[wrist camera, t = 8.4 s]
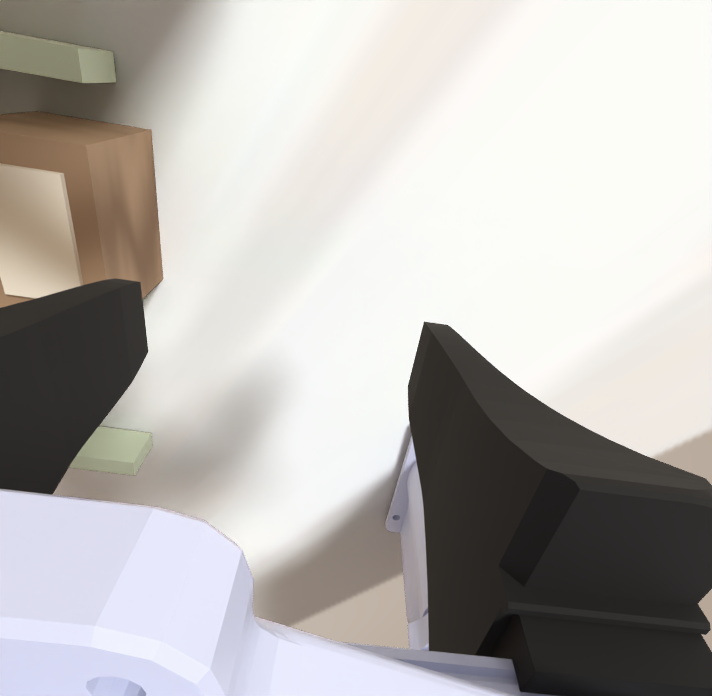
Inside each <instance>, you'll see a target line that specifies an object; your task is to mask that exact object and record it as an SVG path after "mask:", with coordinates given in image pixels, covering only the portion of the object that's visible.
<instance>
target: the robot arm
mask: <svg viewBox="0 0 712 696" xmlns="http://www.w3.org/2000/svg"><path fill="white" fill-rule="evenodd" d="M147 353H148V346H147V337H146V327H145V318H144V309H143V300H142V291H141V282H138V281H131V280H123V279H116V278H115V279H107V280H102V281H98V282H93V283H89V284H86V285H82V286H78V287H75V288H71V289H68V290H64V291H61V292H57V293H54V294H50V295H47V296H43V297H40V298H36V299H32V300H29V301H25V302H21V303H17V304H13V305H9V306H5V307H1V308H0V696H712V652H711V650H710V648H709V647H708V646H707V644H706V642H705V640H704V639H703V637H702V635H701V634H705V635H706V634H707V633H708V632H709V631H710V623H709V621H708V620H707V618H706V616H705V615H704V613H703V612H702V610H701V609H700V607H699V605H698V603H699V601H700V600H701V599H702V598H703V597H704V596H705V595H706V594H707V593H708V592H709V591H710V590H711V589H712V485H711V484H710V483H709V482H708V481H707V480H706V479H705V478H703V477H700V476H697V475H695V474H692V473H689V472H687V471H684V470H681V469H679V468H676V467H673V466H671V465H668V464H666V463H663V462H660V461H658V460H655V459H652V458H650V457H647V456H645V455H642V454H640V453H638V452H635V451H633V450H631V449H629V448H626V447H624V446H622V445H620V444H618V443H615V442H613V441H611V440H609V439H607V438H605V437H603V436H601V435H599V434H597V433H595V432H592V431H591V430H589V429H587V428H585V427H583V426H581V425H579V424H578V423H576V422H574V421H572V420H570V419H568V418H567V417H565V416H563V415H561V414H560V413H558V412H556V411H555V410H553V409H551V408H550V407H548V406H547V405H545V404H544V403H542V402H541V401H539V400H538V399H536V398H535V397H533V396H532V395H530V394H529V393H527V392H526V391H524V390H523V389H522V388H520V387H519V386H518V385H516V384H515V383H514V382H513V381H511V380H510V379H509V378H507V377H506V376H505V375H504V374H502V373H501V372H500V371H499V370H498V369H496V368H495V367H494V366H493V365H492V364H491V363H489V362H488V361H487V360H486V359H485V358H484V357H483V356H482V355H481V354H479V353H478V352H477V351H476V350H475V349H474V348H473V347H472V346H471V345H470V344H469V343H468V342H467V341H465V340H464V339H463V338H462V337H461V336H460V335H459V334H458V333H457V332H456V331H455V330H453V329H452V328H451V327H449V326H448V325H443V324H436V323H429V322H424V325H423V329H422V333H421V337H420V340H419V344H418V348H417V352H416V356H415V360H414V364H413V368H412V372H411V376H410V380H409V384H408V407H409V421H410V427H411V433H412V435H411V438H410V442H409V445H408V449H407V452H406V455H405V459H404V462H403V465H402V469H401V472H400V475H399V479H398V482H397V485H396V489H395V492H394V495H393V499H392V502H391V505H390V509H389V512H388V515H387V519H386V522H385V524H386V529H387V530H388V531H390V532H396V533H400V535H401V549H402V562H403V576H404V588H405V602H406V615H407V620H408V625H407V626H408V639H409V649H405V648H395V647H385V646H376V645H366V644H356V643H345V642H338V641H334V640H331V639H328V638H324V637H321V636H318V635H315V634H312V633H308V632H305V631H302V630H298V629H295V628H292V627H289V626H285V625H282V624H279V623H275V622H272V621H269V620H266V619H262V618H259V617H256V616H254V614H253V609H252V606H253V585H254V579H253V576H252V574H251V571H250V569H249V566H248V564H247V561H246V558H245V556H244V553H243V551H242V549H241V548H240V547H239V546H238V545H237V544H236V543H235V542H233V541H232V540H231V539H229V538H228V537H227V536H225V535H224V534H223V533H221V532H220V531H219V530H217V529H216V528H215V527H213V526H212V525H210V524H209V523H208V522H206V521H205V520H203V519H199V518H196V517H192V516H189V515H185V514H182V513H178V512H175V511H171V510H168V509H164V508H161V507H155V506H147V505H138V504H129V503H120V502H112V501H103V500H94V499H86V498H77V497H68V496H59V495H52V494H53V493H54V491H55V489H56V488H57V486H58V484H59V483H60V481H61V479H62V478H63V476H64V474H65V473H66V471H67V469H68V468H69V466H70V464H71V463H72V461H73V460H74V458H75V457H76V455H77V454H78V453H79V451H80V450H81V448H82V447H83V446H84V444H85V443H86V442H87V440H88V439H89V438H90V437H91V435H92V434H93V433H94V431H95V430H96V429H97V428H98V426H99V425H100V424H101V422H102V421H103V420H104V418H105V417H106V416H107V415H108V413H109V412H110V411H111V409H112V408H113V407H114V406H115V404H116V403H117V402H118V400H119V399H120V398H121V396H122V395H123V394H124V392H125V391H126V390H127V388H128V387H129V385H130V384H131V383H132V381H133V379H134V378H135V376H136V374H137V372H138V371H139V369H140V367H141V365H142V363H143V361H144V359H145V357H146V355H147Z"/></svg>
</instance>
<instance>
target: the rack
mask: <svg viewBox="0 0 712 696" xmlns="http://www.w3.org/2000/svg"><path fill="white" fill-rule="evenodd" d="M0 69H6V70H12V71H17V72H23V73H28V74H34V75H39V76H45V77H50V78H56V79H62V80H67V81H73V82H78V83H116V75H115V65H114V55H113V52H112V51H107V50H101V49H96V48H91V47H85V46H80V45H74V44H69V43H64V42H58V41H53V40H47V39H42V38H37V37H31V36H26V35H20V34H15V33H10V32H4V31H0ZM152 446H153V445H152V435H151V433H147V432H139V431H132V430H124V429H117V428H109V427H101V426H98V428H97V429H96V430H95V431H94V433H93V434H92V435H91V437H90V438H89V439H88V440H87V442H86V443H85V444H84V446H83V447H82V448H81V450H80V451H79V453H78V454H77V455H76V457H75V458H74V460H73V461H72V463H71V464H70V466H69V468H76V469H84V470H92V471H100V472H108V473H116V474H124V475H132V476H135V475H136V473H137V471H138V470H139V468H140V466H141V465H142V463H143V461H144V459H145V458H146V456H147V454H148V453H149V451H150V449H151V447H152Z"/></svg>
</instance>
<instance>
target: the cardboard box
mask: <svg viewBox="0 0 712 696" xmlns="http://www.w3.org/2000/svg"><path fill="white" fill-rule="evenodd" d="M115 278H116V279H123V280H131V281H138V282H141V291H142V299H143V298H144V297H145V296H146V295H147V294H148V293H149V292H150V291H151V290H152V289H153V288H154V287H155V286H156V285H158V284H159V283H160V282H161V281H162V280H163V271H162V258H161V246H160V233H159V221H158V208H157V195H156V183H155V170H154V157H153V145H152V132H151V130H149V129H143V128H137V127H131V126H125V125H119V124H113V123H106V122H100V121H94V120H88V119H82V118H76V117H70V116H63V115H57V114H51V113H45V112H39V111H32V112H22V113H12V114H2V115H0V308H1V307H5V306H9V305H13V304H17V303H21V302H25V301H29V300H32V299H36V298H40V297H43V296H47V295H50V294H54V293H57V292H61V291H64V290H68V289H71V288H75V287H78V286H82V285H86V284H89V283H93V282H98V281H102V280H107V279H115Z"/></svg>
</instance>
